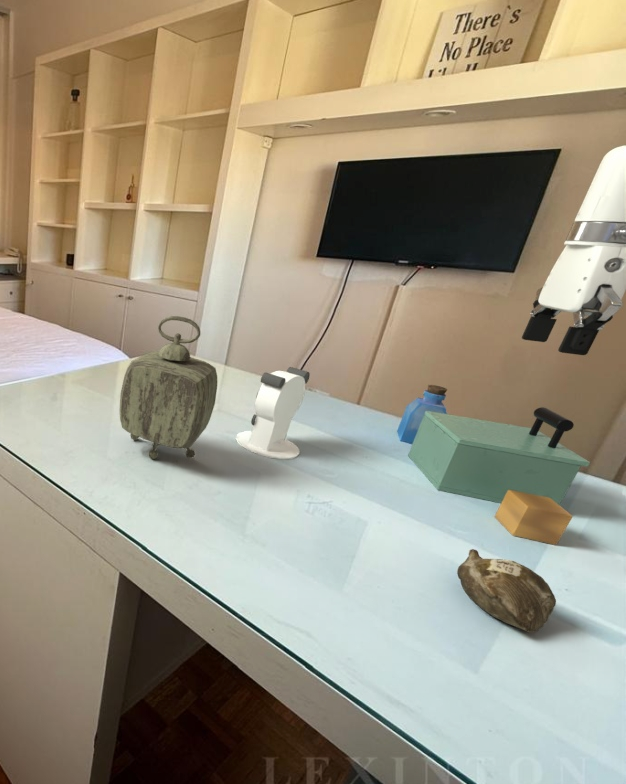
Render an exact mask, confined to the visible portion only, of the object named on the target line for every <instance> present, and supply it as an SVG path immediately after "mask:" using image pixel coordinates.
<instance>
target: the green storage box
mask: <svg viewBox="0 0 626 784" xmlns="http://www.w3.org/2000/svg"><path fill="white" fill-rule="evenodd" d="M407 457H408V458H409V459H410V460H411V461H412V462H413V463H414V465H415V466H416V467H417V468H418V469H419V470H420V472H421V473H422V474H423V475H424V477H426V479H427V480H428V481H429V482H430V483H431V484H432V485H433V487H435V489H436V490H437V491H441V492H446V493H450V494H455V495H460V496H464V497H465V496H466V497H469V498H475V499H478V500H479V499H480V500H484V501H488V502H489V501H490V502H493V503H499V504H501V503H502V501H503V499H504V497H505V495H506V493H507V491H508V490H513V491H518V492H523V493H528V494H533V495H538V496H543V497H548V498H551V499H552V500H553V501H554V502H556V503H557V504H558V505H559V506H561V503H562V501H563V500H564V497H565V496H566V495H567V492H568V491H569V488H570V487H571V485H572V484H573V481H574V480H575V478H576V476H577V474H578V473H579V471H580V469H581V467H582V466H580V465H574V464H569V463H563V462H558V461H552V460H547V459H541V458H536V457H530V456H525V455H519V454H514V453H508V452H502V451H497V450H491V449H486V448H480V447H475V446H469V445H464V444H458V443H457V442H456V441H455V440H454V439H452V438H451V437H450V436H449V435H448V434H447V433H445V432H444V431H443V430H442V429H441V428H440V427H438V426H437V425H436V424H435V423H434V422H433V421H432V420H430V419H429V418H428V417H427V416H426V415H424V417H423V419H422V422H421V424H420V427H419V429H418V432H417V434H416V437H415V439H414V441H413V444H411V446H410V448H409V451H408V455H407Z"/></svg>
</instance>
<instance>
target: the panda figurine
mask: <svg viewBox="0 0 626 784" xmlns="http://www.w3.org/2000/svg"><path fill="white" fill-rule="evenodd" d="M310 375H311V373H310V372H309V371H307V370H304V369H300V368H296V367H292V366H289V367H287V368H286V371H285V370H276V371H273V372H271V373H270V372H264V373H263V374H262V375H261V378H260V383H261V386H260V387H259V389H258V391H257V393H256V397H255V403H254V413H255V414H253V416H252V417H251V421H250V423H251V426H253V428H252V430H244V431H240V432H238V433H237V434H236V437H235V439H236V443H238V445H240V447H242V448H244V449H246V450H247V451H249V452H251V453H254V454H256V455H259V456H262V457H266V458H271V459H277V460H291V459H295V458H297V457H298V456H300V448H299V447H298V446H297V445H296V444H295V443H293V442H292V441H290V440H288V439H287V434H288V431H289V428H290V425H291V423H292V420H293V418H294V417H295V415H296V414H297V413H298V412H299V409H300V407H301V405H302V404H303V400H304V397H305V393H306V384H308V382H309V380H310Z"/></svg>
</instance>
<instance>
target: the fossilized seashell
mask: <svg viewBox="0 0 626 784" xmlns="http://www.w3.org/2000/svg"><path fill="white" fill-rule="evenodd" d="M456 572H457V573H456V574H457V577H458V579H459V580H460V584H461V587H462V589H463V591H464V593H465V594H466V596H467V597H468V598H469V599H470V600H471V601H472V602H473V603H475V604H476V605H477V606H478V607H479V608H481V609H482V610H483V611H484V612H486V613H487V614H489V615H491V617H494V618H496V619H497V620H500V621H502V623H505V624H508V625H511V626H513V627H515V628H518V629H520V630H523V631H526V632H528V633H535V632H538V631H539V630H541V629H543V627H544V626H545V624H546V623H548V621H549V617H550V616H551V615H552V612H553V611H554V609H555V607H556V604H557V599H556V597H555V594H554V593H553V591H552V589H551V587H550V585H549V583H548V582H546V581H545V579H544V578H543V577H542V576H541V575H539V574H538V573H536V572H535V571H534V570H532V569H531V568H529V567H527V566H525V565H523V564H521V563H519V562H517V561H514V560H511V559H503V558H483V557H482V556H480V553H479V551H478V550H477V549H474V548H471V549H469V552H468V556H467V558H466V559H465V560H464V561H463V562H462V563H460V565H459V566H458V567H457V571H456Z"/></svg>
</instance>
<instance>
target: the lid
mask: <svg viewBox="0 0 626 784" xmlns="http://www.w3.org/2000/svg"><path fill="white" fill-rule="evenodd" d="M425 415H426V416H427V417H428V418H429V419H430V420H432V421H433V422H434V423H435V424H436V425H437V426H438V427H440V428H441V429H442V430H443V431H444V432H445V433H447V434H448V435H449V436H450V437H451V438H452V439H454V440H455V441H456V442H457V443H458V444H464V445H469V446H475V447H480V448H486V449H491V450H497V451H502V452H508V453H514V454H519V455H525V456H530V457H536V458H541V459H547V460H552V461H558V462H563V463H569V464H574V465H580V466H581V467H586V468H588V467H590V465H591V461H589V460H587V459H586V458H584V457H582V456H581V455H579V454H577V453H576V452H574V451H572V450H571V449H569V448H567V447H566V446H564V445H563V444H561V443H559V442H560V440H561V438H562V437H563V435H564V433H565V432H569V431H571V430H572V429H573V428H574V427H575V426H574V425H575V424H574V422H573V421H572V420H571V419H568V418H567V417H564V416H562V415H561V414H559V413H557V412H555V411H553V410H551V409H550V408H547V407H544V406H542V407H541V406H540V407H537V408H536V409H534V411H533V416H534V418H536V419H535V421H534V422H533V424H532V427H528V426H527V427H526V426H520V425H515V424H508V423H503V422H498V421H497V422H496V421H490V420H486V419H485V420H484V419H478V418H473V417H466V416H461V415H454V414H448V413H447V414H443V413H437V412H431V411H426V412H425ZM544 423H545V424H547V425H548V426H550V427H552V428H554V429H555V430H554V432H553V434H552V436H551V437H549V436H548V435H547V434H544V433H543V432H541V431H540V430H541V427H542V425H543V424H544Z"/></svg>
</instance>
